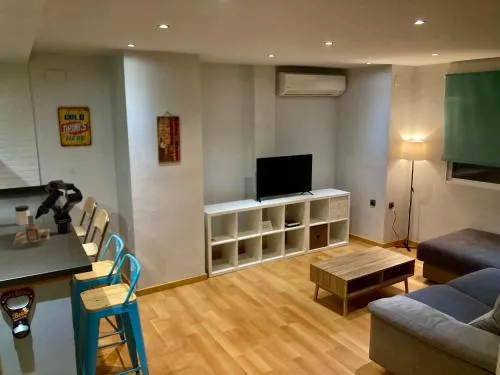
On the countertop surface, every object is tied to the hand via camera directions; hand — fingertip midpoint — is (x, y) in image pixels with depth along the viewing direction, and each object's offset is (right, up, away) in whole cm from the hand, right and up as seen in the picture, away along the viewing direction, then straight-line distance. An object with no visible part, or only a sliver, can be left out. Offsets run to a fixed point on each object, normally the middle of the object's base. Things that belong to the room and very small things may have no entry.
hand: (36, 217), depth 261 cm
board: (+1, -11, -8) cm, 14 cm away
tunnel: (+5, -11, -14) cm, 19 cm away
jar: (-23, -6, +27) cm, 36 cm away
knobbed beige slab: (+1, -10, -7) cm, 12 cm away
